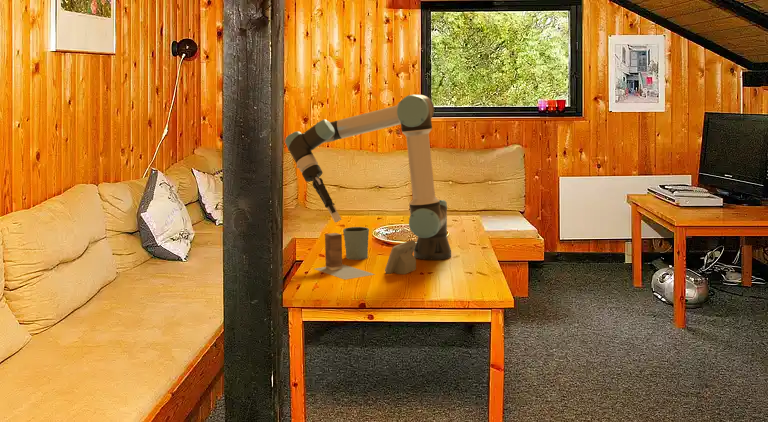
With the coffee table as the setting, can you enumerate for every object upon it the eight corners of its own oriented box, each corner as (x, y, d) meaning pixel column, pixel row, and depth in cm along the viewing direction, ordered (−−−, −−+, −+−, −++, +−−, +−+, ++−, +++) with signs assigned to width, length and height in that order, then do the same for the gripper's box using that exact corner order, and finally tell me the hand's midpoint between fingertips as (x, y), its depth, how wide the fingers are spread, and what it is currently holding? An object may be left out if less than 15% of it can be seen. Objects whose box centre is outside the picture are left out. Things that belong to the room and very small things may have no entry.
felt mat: (313, 269, 304) (313, 268, 304) (343, 265, 312) (343, 264, 312) (344, 280, 287) (344, 279, 286) (375, 275, 294) (375, 274, 294)
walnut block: (325, 268, 305) (324, 234, 303) (336, 266, 308) (335, 232, 306) (332, 270, 301) (331, 235, 299) (342, 268, 304) (341, 234, 302)
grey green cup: (373, 257, 326) (373, 227, 325) (362, 262, 317) (361, 231, 315) (351, 255, 331) (350, 226, 329) (339, 260, 321) (338, 230, 320)
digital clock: (405, 265, 310) (405, 238, 308) (424, 269, 304) (424, 241, 302) (377, 273, 297) (377, 245, 296) (396, 276, 292) (396, 247, 290)
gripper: (302, 178, 322) (329, 229, 317) (300, 167, 309) (329, 220, 304) (318, 169, 323) (346, 220, 318) (318, 159, 310) (346, 211, 305)
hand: (338, 220), depth 311 cm, fingers closed
